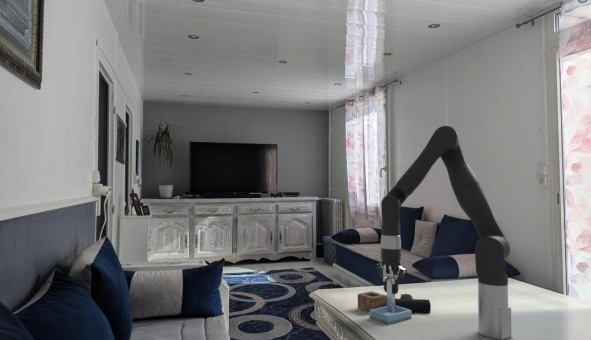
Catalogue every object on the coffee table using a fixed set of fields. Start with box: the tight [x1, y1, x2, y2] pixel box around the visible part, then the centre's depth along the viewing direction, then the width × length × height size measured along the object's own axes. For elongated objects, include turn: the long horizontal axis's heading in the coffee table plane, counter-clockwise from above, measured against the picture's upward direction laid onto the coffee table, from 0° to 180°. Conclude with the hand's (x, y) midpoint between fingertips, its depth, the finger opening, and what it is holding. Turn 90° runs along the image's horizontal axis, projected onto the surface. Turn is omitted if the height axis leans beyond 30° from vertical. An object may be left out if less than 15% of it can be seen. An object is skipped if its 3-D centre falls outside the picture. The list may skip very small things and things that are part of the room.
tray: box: [369, 305, 413, 325], centre depth 152 cm, size 9×13×3 cm
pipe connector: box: [395, 293, 432, 314], centre depth 165 cm, size 12×5×15 cm
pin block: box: [357, 290, 387, 314], centre depth 163 cm, size 8×8×6 cm
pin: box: [386, 278, 396, 313], centre depth 152 cm, size 3×3×12 cm
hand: (390, 292), depth 153 cm, fingers closed on pin, 3 cm apart
